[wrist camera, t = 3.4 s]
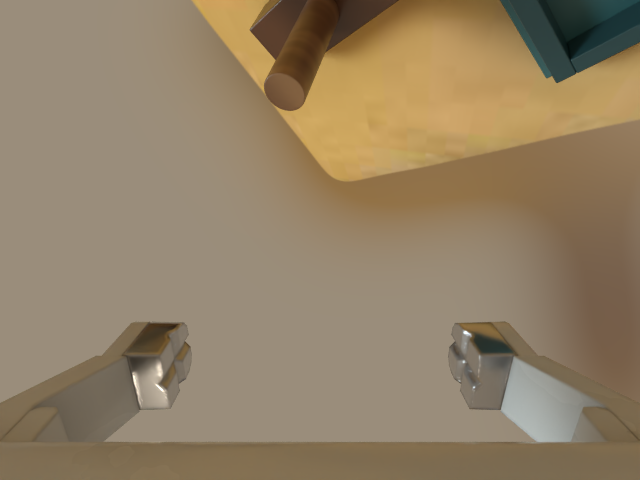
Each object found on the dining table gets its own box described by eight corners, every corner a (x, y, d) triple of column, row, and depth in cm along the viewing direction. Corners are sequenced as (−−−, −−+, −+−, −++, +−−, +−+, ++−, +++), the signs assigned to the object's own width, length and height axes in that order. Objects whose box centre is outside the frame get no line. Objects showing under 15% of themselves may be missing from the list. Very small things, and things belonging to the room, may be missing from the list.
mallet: (381, -112, 20) (334, -8, 14) (418, -36, 22) (390, 78, 17) (264, 5, 27) (201, 105, 21) (302, 52, 30) (255, 152, 24)
